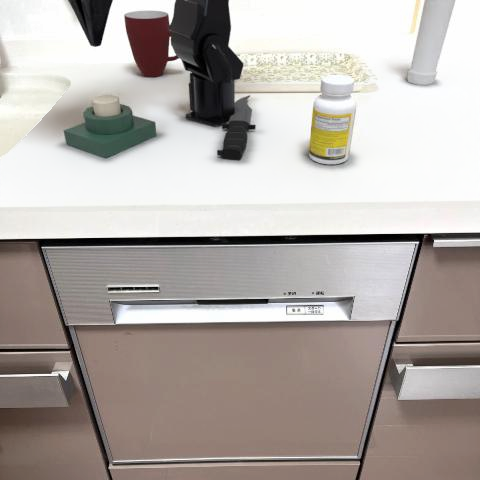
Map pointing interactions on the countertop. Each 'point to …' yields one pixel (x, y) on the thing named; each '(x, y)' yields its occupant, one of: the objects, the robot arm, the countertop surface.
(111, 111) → the cream short cylinder
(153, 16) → the mug
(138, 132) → the green peg holder
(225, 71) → the robot arm
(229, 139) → the knife
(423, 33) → the white tall cylinder
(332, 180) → the countertop surface
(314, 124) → the supplement bottle
